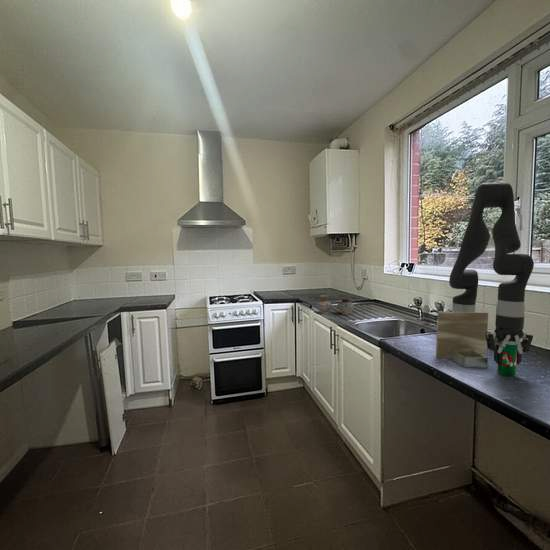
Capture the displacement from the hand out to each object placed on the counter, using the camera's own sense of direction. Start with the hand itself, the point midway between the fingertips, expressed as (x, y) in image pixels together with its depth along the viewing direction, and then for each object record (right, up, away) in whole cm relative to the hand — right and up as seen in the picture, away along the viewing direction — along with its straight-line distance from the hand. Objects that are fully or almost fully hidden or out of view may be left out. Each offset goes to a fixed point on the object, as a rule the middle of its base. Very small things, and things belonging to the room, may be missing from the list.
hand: (507, 363), depth 103 cm
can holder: (-6, -3, +11) cm, 13 cm away
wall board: (-5, -3, +17) cm, 18 cm away
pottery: (-38, +3, +103) cm, 109 cm away
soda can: (0, -4, 0) cm, 4 cm away
